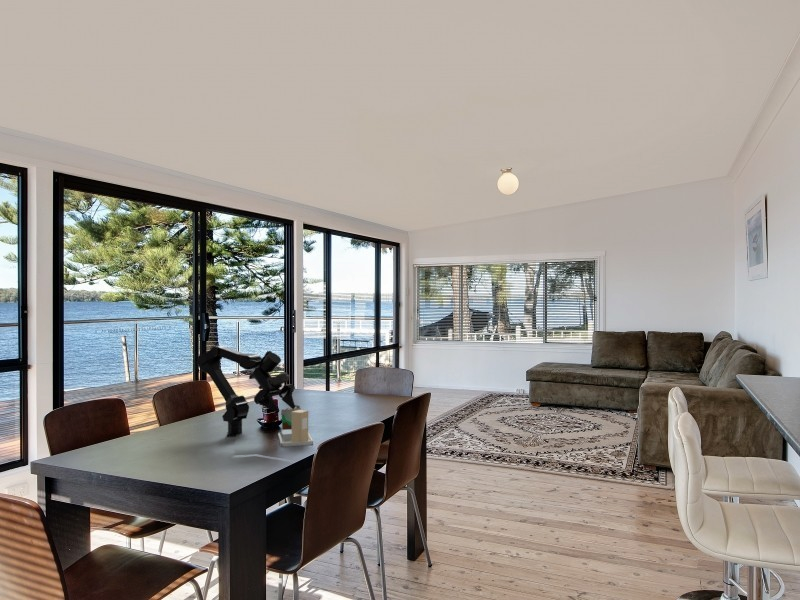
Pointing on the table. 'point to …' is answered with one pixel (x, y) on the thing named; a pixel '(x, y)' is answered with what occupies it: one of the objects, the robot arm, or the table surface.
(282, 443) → the tray
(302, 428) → the labelled carton
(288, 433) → the white rectangular block
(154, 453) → the table surface
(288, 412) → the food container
